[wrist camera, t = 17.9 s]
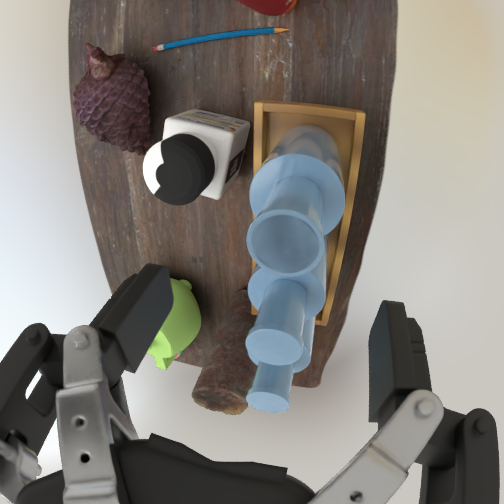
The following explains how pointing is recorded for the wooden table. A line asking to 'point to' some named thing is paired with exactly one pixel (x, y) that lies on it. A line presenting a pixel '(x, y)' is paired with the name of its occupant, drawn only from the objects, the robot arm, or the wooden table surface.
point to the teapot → (177, 325)
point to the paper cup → (270, 6)
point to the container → (195, 156)
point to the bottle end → (279, 377)
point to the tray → (350, 145)
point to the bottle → (296, 201)
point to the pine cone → (114, 101)
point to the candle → (229, 362)
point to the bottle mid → (284, 311)
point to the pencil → (219, 37)
